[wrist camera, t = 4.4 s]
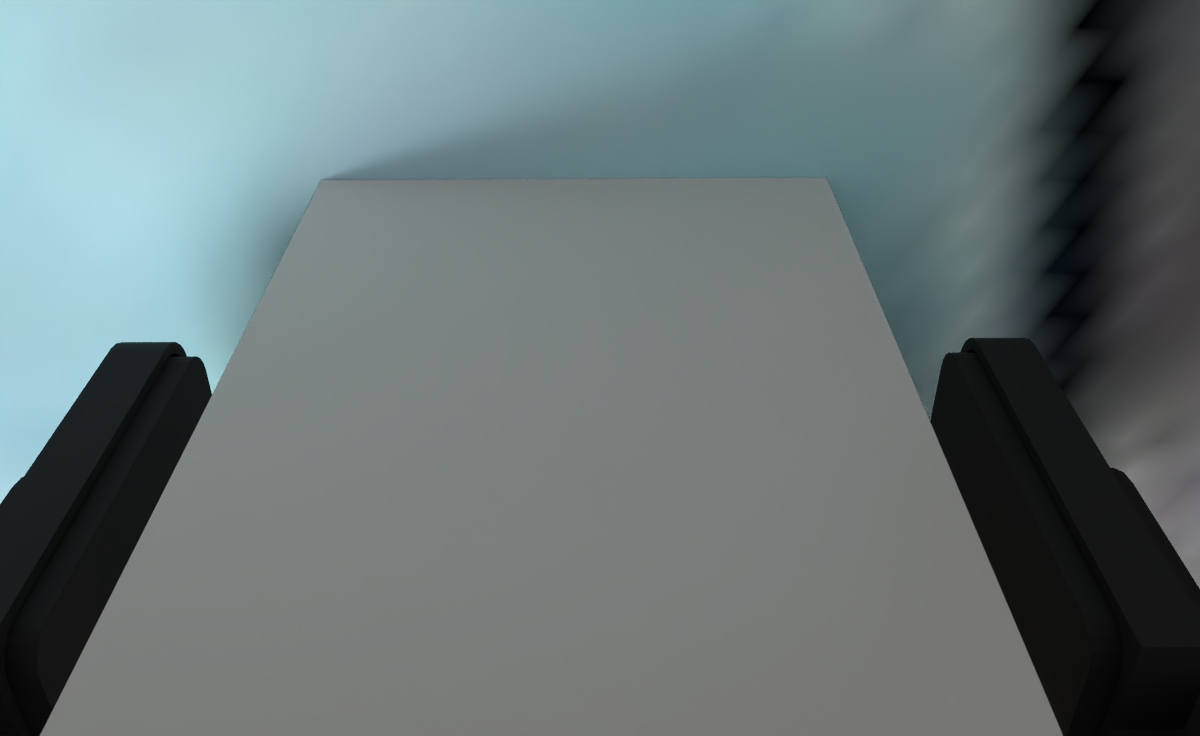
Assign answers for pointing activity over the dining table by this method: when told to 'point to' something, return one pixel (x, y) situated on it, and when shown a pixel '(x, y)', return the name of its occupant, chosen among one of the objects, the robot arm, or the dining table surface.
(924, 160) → the dining table surface
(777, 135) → the dining table surface
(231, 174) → the dining table surface
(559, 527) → the plug
